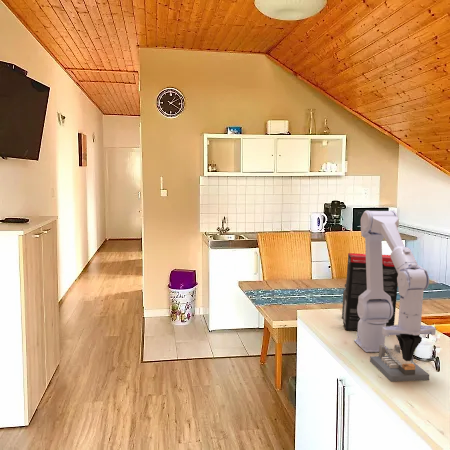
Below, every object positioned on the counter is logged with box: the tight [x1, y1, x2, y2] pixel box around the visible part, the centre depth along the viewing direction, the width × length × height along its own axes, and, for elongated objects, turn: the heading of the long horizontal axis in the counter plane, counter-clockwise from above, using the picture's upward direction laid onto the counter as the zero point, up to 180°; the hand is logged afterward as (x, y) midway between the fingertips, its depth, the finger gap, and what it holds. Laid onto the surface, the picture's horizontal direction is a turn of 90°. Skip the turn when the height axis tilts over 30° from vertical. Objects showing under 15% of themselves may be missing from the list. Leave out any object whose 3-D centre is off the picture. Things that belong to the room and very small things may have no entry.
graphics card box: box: [342, 252, 399, 331], centre depth 162 cm, size 17×7×27 cm, turn 84°
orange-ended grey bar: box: [385, 348, 415, 370], centre depth 131 cm, size 12×3×1 cm, turn 8°
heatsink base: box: [369, 344, 430, 383], centre depth 131 cm, size 13×11×5 cm
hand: (406, 359), depth 127 cm, fingers closed
